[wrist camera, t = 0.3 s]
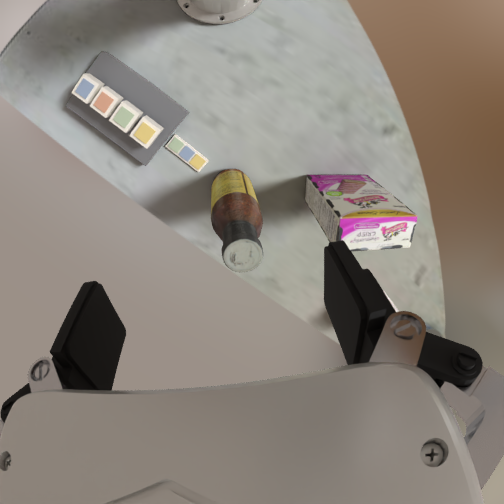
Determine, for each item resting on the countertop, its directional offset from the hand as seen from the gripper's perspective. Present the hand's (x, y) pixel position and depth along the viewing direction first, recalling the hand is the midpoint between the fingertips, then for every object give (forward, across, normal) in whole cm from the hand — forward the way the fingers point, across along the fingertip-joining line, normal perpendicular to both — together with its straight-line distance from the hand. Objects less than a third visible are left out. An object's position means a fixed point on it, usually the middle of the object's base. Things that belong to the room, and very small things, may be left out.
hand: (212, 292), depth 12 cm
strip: (+35, +6, +1) cm, 35 cm away
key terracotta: (+33, +14, -10) cm, 37 cm away
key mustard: (+33, +10, -4) cm, 35 cm away
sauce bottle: (+35, 0, +8) cm, 36 cm away
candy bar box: (+35, -17, +11) cm, 41 cm away
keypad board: (+35, +13, -8) cm, 38 cm away
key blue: (+33, +17, -13) cm, 39 cm away
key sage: (+33, +12, -7) cm, 36 cm away
